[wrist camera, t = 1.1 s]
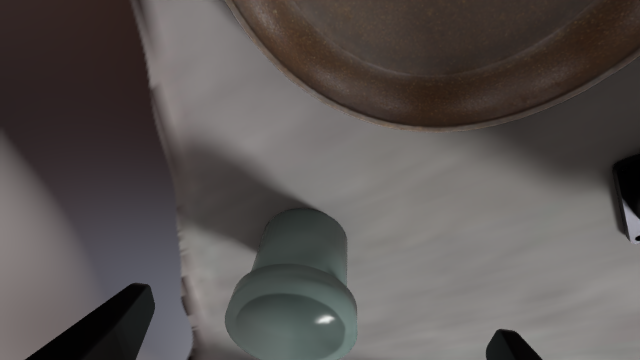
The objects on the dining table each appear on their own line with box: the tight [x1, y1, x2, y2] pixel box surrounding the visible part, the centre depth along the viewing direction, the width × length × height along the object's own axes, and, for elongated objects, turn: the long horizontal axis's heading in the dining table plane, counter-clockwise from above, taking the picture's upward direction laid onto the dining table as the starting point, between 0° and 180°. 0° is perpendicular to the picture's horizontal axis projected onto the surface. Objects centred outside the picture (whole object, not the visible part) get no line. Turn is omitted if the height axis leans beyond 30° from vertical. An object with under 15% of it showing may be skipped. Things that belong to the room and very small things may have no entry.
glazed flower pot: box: [225, 209, 357, 360], centre depth 22 cm, size 7×7×7 cm
